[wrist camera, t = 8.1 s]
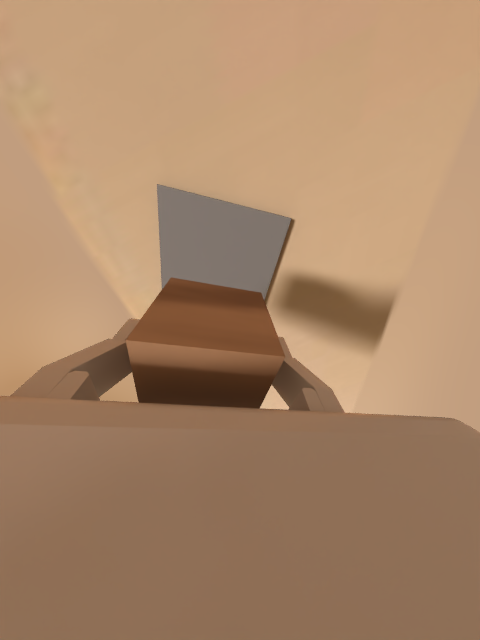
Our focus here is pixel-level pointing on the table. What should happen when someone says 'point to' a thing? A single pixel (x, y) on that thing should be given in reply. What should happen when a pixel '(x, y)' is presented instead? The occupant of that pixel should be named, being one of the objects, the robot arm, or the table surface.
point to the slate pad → (217, 241)
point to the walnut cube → (205, 347)
